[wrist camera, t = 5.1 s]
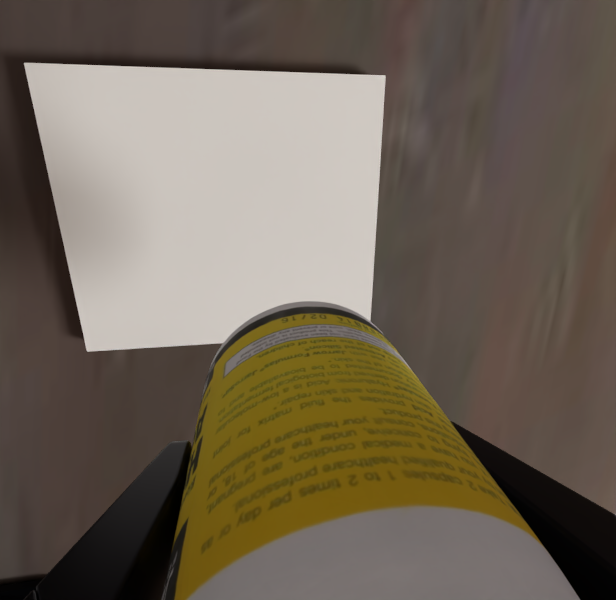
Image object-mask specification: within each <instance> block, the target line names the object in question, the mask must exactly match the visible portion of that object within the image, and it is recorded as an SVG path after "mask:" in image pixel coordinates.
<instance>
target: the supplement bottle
mask: <svg viewBox="0 0 616 600" xmlns="http://www.w3.org/2000/svg"><path fill="white" fill-rule="evenodd" d="M162 600H580V599H579V597H578V595H577V594H576V592H575V591H574V589H573V588H572V586H571V585H570V583H569V582H568V580H567V579H566V577H565V576H564V574H563V573H562V571H561V570H560V568H559V567H558V565H557V564H556V563H555V561H554V560H553V558H552V557H551V555H550V554H549V553H548V551H547V550H546V549H545V547H544V546H543V545H542V543H541V542H540V540H539V539H538V538H537V536H536V535H535V534H534V532H533V531H532V530H531V528H530V527H529V525H528V524H527V523H526V521H525V520H524V519H523V517H522V516H521V515H520V513H519V512H518V511H517V509H516V508H515V507H514V506H513V504H512V503H511V502H510V500H509V499H508V498H507V496H506V495H505V494H504V492H503V491H502V490H501V488H500V487H499V486H498V485H497V483H496V482H495V481H494V479H493V478H492V477H491V475H490V474H489V473H488V471H487V470H486V469H485V467H484V466H483V465H482V463H481V462H480V461H479V459H478V458H477V457H476V455H475V454H474V453H473V451H472V450H471V449H470V448H469V446H468V445H467V444H466V442H465V441H464V440H463V438H462V437H461V436H460V434H459V433H458V432H457V430H456V429H455V428H454V426H453V425H452V424H451V422H450V421H449V419H448V418H447V417H446V415H445V414H444V413H443V411H442V410H441V409H440V407H439V406H438V405H437V403H436V402H435V401H434V399H433V398H432V397H431V396H430V394H429V393H428V392H427V390H426V389H425V388H424V386H423V385H422V384H421V382H420V381H419V380H418V378H417V377H416V375H415V374H414V373H413V371H412V370H411V369H410V367H409V366H408V365H407V363H406V362H405V361H404V359H403V358H402V357H401V355H400V354H399V353H398V352H397V350H396V349H395V348H394V346H393V345H392V344H391V343H390V341H389V340H388V339H387V338H386V337H385V336H384V334H383V333H382V332H381V331H380V330H379V329H378V328H377V327H376V326H375V325H374V324H373V323H371V322H370V321H369V320H368V319H366V318H365V317H364V316H362V315H360V314H359V313H357V312H355V311H353V310H351V309H348V308H346V307H343V306H340V305H336V304H332V303H327V302H318V301H301V302H293V303H287V304H283V305H279V306H277V307H274V308H271V309H269V310H266V311H264V312H262V313H260V314H258V315H256V316H254V317H252V318H251V319H249V320H248V321H246V322H245V323H243V324H242V325H241V326H240V327H238V328H237V329H236V330H235V331H234V332H233V333H232V334H231V335H230V336H229V337H228V338H227V339H226V341H225V342H224V343H223V344H222V346H221V347H220V349H219V350H218V352H217V354H216V355H215V357H214V359H213V361H212V364H211V367H210V369H209V372H208V375H207V379H206V383H205V387H204V391H203V395H202V399H201V405H200V411H199V416H198V421H197V426H196V430H195V435H194V442H193V447H192V451H191V456H190V460H189V465H188V471H187V477H186V481H185V486H184V491H183V496H182V502H181V507H180V512H179V517H178V522H177V527H176V532H175V537H174V542H173V547H172V552H171V556H170V560H169V564H168V570H167V576H166V581H165V585H164V589H163V594H162Z"/></svg>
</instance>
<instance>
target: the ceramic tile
mask: <svg viewBox="0 0 616 600" xmlns="http://www.w3.org/2000/svg"><path fill="white" fill-rule="evenodd" d="M24 66H25V71H26V75H27V80H28V84H29V89H30V94H31V98H32V103H33V107H34V112H35V116H36V121H37V126H38V130H39V135H40V139H41V144H42V148H43V153H44V158H45V162H46V167H47V171H48V176H49V180H50V185H51V189H52V194H53V199H54V203H55V208H56V212H57V217H58V221H59V226H60V231H61V235H62V240H63V244H64V249H65V253H66V258H67V263H68V267H69V272H70V276H71V281H72V285H73V290H74V295H75V299H76V304H77V308H78V313H79V317H80V322H81V326H82V331H83V336H84V340H85V345H86V349H87V352H88V351H104V350H120V349H136V348H152V347H167V346H183V345H199V344H215V343H224V342H225V341H226V339H227V338H228V337H229V336H230V335H231V334H232V333H233V332H234V331H235V330H236V329H237V328H238V327H240V326H241V325H242V324H243V323H245V322H246V321H248V320H249V319H251V318H252V317H254V316H256V315H258V314H260V313H262V312H264V311H266V310H269V309H271V308H274V307H277V306H279V305H283V304H287V303H293V302H301V301H318V302H327V303H332V304H336V305H340V306H343V307H346V308H348V309H351V310H353V311H355V312H357V313H359V314H360V315H362V316H364V317H365V318H366V319H368V320H369V321H370V318H371V302H372V286H373V270H374V254H375V238H376V222H377V206H378V190H379V174H380V157H381V141H382V125H383V109H384V93H385V77H386V75H358V74H330V73H301V72H273V71H245V70H216V69H188V68H160V67H132V66H103V65H75V64H47V63H24Z"/></svg>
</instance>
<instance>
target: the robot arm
mask: <svg viewBox="0 0 616 600" xmlns="http://www.w3.org/2000/svg"><path fill="white" fill-rule="evenodd" d="M450 422H451V424H452V425H453V426H454V428H455V429H456V430H457V432H458V433H459V434H460V436H461V437H462V438H463V440H464V441H465V442H466V444H467V445H468V446H469V448H470V449H471V450H472V451H473V453H474V454H475V455H476V457H477V458H478V459H479V461H480V462H481V463H482V465H483V466H484V467H485V469H486V470H487V471H488V473H489V474H490V475H491V477H492V478H493V479H494V481H495V482H496V483H497V485H498V486H499V487H500V488H501V490H502V491H503V492H504V494H505V495H506V496H507V498H508V499H509V500H510V502H511V503H512V504H513V506H514V507H515V508H516V509H517V511H518V512H519V513H520V515H521V516H522V517H523V519H524V520H525V521H526V523H527V524H528V525H529V527H530V528H531V530H532V531H533V532H534V534H535V535H536V536H537V538H538V539H539V540H540V542H541V543H542V545H543V546H544V547H545V549H546V550H547V551H548V553H549V554H550V555H551V557H552V558H553V560H554V561H555V563H556V564H557V565H558V567H559V568H560V570H561V571H562V573H563V574H564V576H565V577H566V579H567V580H568V582H569V583H570V585H571V586H572V588H573V589H574V591H575V592H576V594H577V595H578V597H579V599H580V600H616V515H615V514H613V513H611V512H610V511H608V510H606V509H604V508H603V507H601V506H599V505H597V504H596V503H594V502H592V501H590V500H589V499H587V498H585V497H583V496H582V495H580V494H578V493H576V492H575V491H573V490H571V489H569V488H568V487H566V486H564V485H562V484H561V483H559V482H557V481H555V480H554V479H552V478H550V477H548V476H547V475H545V474H543V473H541V472H540V471H538V470H536V469H534V468H533V467H531V466H529V465H527V464H526V463H524V462H522V461H520V460H519V459H517V458H515V457H513V456H512V455H510V454H508V453H506V452H505V451H503V450H501V449H499V448H498V447H496V446H494V445H492V444H491V443H489V442H487V441H485V440H484V439H482V438H480V437H478V436H477V435H475V434H473V433H471V432H470V431H468V430H466V429H464V428H463V427H461V426H459V425H457V424H456V423H454V422H452V421H450ZM191 451H192V447H191V443H190V442H189V441H173V442H170V443H169V444H168V445H167V446H166V447H165V448H164V449H163V450H162V451H161V452H160V453H159V454H158V456H157V457H156V458H155V459H154V460H153V461H152V462H151V463H150V464H149V465H148V466H147V467H146V468H145V470H144V471H143V472H142V473H141V474H140V475H139V476H138V477H137V478H136V479H135V480H134V481H133V482H132V484H131V485H130V486H129V487H128V488H127V489H126V490H125V491H124V492H123V493H122V494H121V495H120V496H119V498H118V499H117V500H116V501H115V502H114V503H113V504H112V505H111V506H110V507H109V508H108V509H107V510H106V512H105V513H104V514H103V515H102V516H101V517H100V518H99V519H98V520H97V521H96V522H95V523H94V524H93V526H92V527H91V528H90V529H89V530H88V531H87V532H86V533H85V534H84V535H83V536H82V537H81V538H80V540H79V541H78V542H77V543H76V544H75V545H74V546H73V547H72V548H71V549H70V550H69V551H68V553H67V554H66V555H65V556H64V557H63V558H62V559H61V560H60V561H59V562H58V563H57V564H56V565H55V567H54V568H53V569H52V570H51V571H50V572H49V573H48V574H47V575H46V576H45V577H44V578H43V579H42V580H38V581H31V582H24V583H16V584H9V585H2V586H0V600H162V594H163V589H164V585H165V581H166V576H167V570H168V564H169V560H170V556H171V552H172V547H173V542H174V537H175V532H176V527H177V522H178V517H179V512H180V507H181V502H182V496H183V491H184V486H185V481H186V477H187V471H188V465H189V460H190V456H191Z"/></svg>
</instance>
